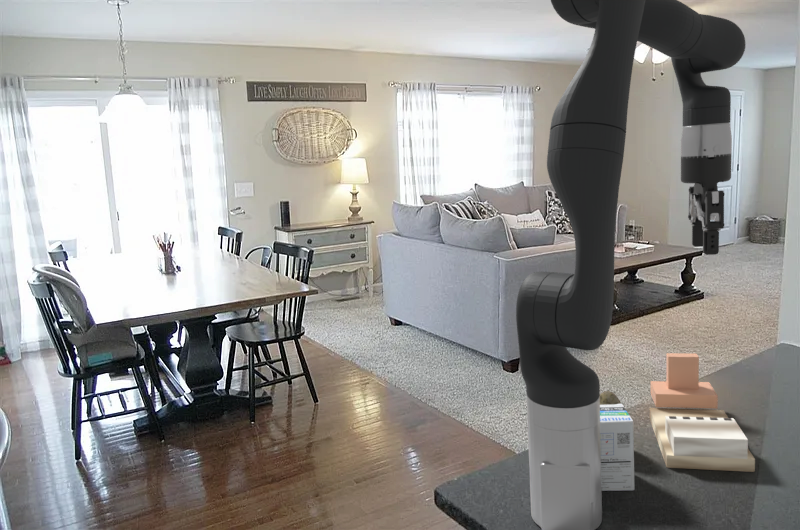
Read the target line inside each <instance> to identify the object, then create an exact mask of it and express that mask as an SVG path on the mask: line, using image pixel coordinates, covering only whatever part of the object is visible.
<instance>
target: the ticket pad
mask: <svg viewBox="0 0 800 530" xmlns="http://www.w3.org/2000/svg"><path fill="white" fill-rule="evenodd" d="M649 421H650V424H651V427H652V429H653V432H654V434H655V438H656V440H657V444H658V446H659V449H660V453H661V455H662V458H663V461H664V463H665V467H666V468H669V469H670V468H671V469H689V470H706V471H709V470H710V471H727V472H728V471H730V472H747V473H748V472H749V473H750V472H751V473H755V471H756V470H755V469H756V458H755V457H754V455H753V454H752V452H751V450H750V449H749V447H748V446H749V444H748V443H749V439H748V438H747V436H746V435H745V433H744V431H743V430H742V429H741V427H740V425H739V424H738V423H737V421H736V419H734V418H733V417H728V415H727V413H726V412H725V410H724V409H709V408H672V407H649Z"/></svg>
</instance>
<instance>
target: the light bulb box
mask: <svg viewBox="0 0 800 530" xmlns="http://www.w3.org/2000/svg"><path fill="white" fill-rule="evenodd" d="M634 438H635V437H634V420H633V418H632V417H631V415H630V414H629V413H628V411H627V410H626V408H625V406H624V405H623V403H621V404H604V405H600V446H601V492H605V491H607V492H611V491H612V492H615V491H616V492H618V491H619V492H620V491H635V442H634V441H635V440H634Z"/></svg>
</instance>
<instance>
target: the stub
mask: <svg viewBox="0 0 800 530" xmlns="http://www.w3.org/2000/svg"><path fill="white" fill-rule="evenodd" d="M665 355H666V360H665V361H666V362H665V363H666V365H665V366H666V367H665V368H666V377H665V378H666V380H665V381H663V380H662V381H661V380H660V381H659V380H657V381H655V380H653V381H652V380H650V395H651V398H652V400H653V403H654V406H655V408H677V409H714V410H719V409H718V402H719V401H718V399H719V396H718V394H717V392H716V391H715V389H714V387H713V386H712V384H711V383H710V382H709V381H700V380H699V379H700V378H699V377H700V375H699V373H700V371H699V370H700V362H699V361H700V357H699V355H698V354H697V353H688V352H687V353H683V352H682V353H680V352H679V353H677V352H676V353H675V352H673V353H671V352H670V353H666V354H665Z"/></svg>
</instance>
